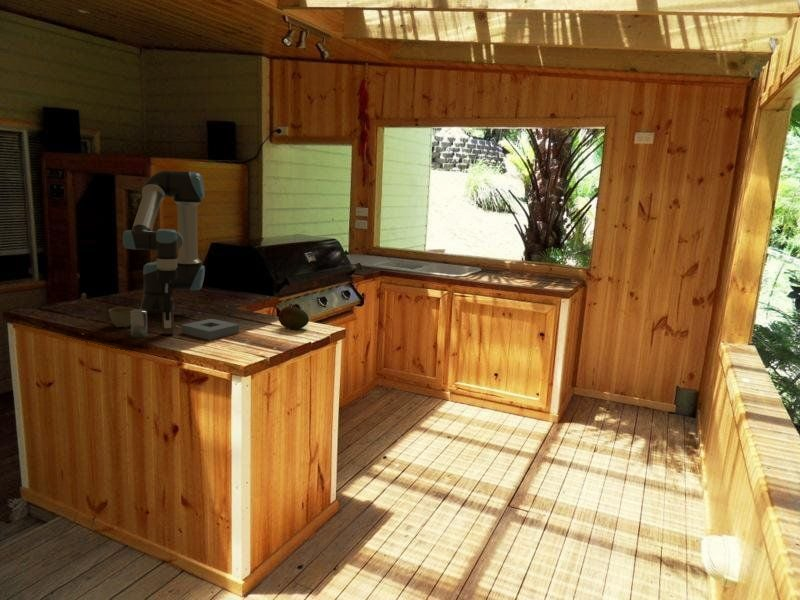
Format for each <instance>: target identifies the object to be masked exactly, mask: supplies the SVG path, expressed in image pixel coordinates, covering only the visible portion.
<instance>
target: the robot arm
mask: <svg viewBox="0 0 800 600" xmlns="http://www.w3.org/2000/svg"><path fill="white" fill-rule="evenodd" d="M203 180H204V179H203V176H202V175H201V173H199V172H194V171H179V170H161V171H158V172H156V173H154V174H153V175H151V176H150V177H149V178H148V179H147V180H146V181H145V182H144V184H143V186H142V190H141V194H142V198H141V200H140V203H139V206H138V210H137V213H136V215H135V218H134V222H133V225H132V228H131V229H126V230H124V231H123V233H122V245H123V247H124V248H125V249H126V250H127V249H129V250H137V251H138V250H141V251H143V250H144V251H145V250H146V251H150V250H151V251H152V250H153V251H156V260H155V261H153V262H152V261H151V262H147V263H145V264H144V265H143V270H142V271H143V273H142V275H143V276H142V279H143V296H142V299H141V303H140V306H139V309H144V310H147V315H162V312H164V328H171V298H173V297H172V295H173V291H174V290H175V291H177V290H179V291H190V292H191V291H199V290H201V289H202V287H203V283H204V279H205V274H206V266H205V265H202V261H201V259H199V256H198V255H199V254H198V253H199V252H198V251H199V247H198V243H199V242H198V239H199V238H198V235H199V234H198V226H199V225H198V207H199V205H200V204H201V203H202V200H203V199H205V184H204V181H203ZM168 197H169V198H173V202H174V204H176V205H177V206H176V207H177V231H176V229H172V228H161V229H160V228H159V229H157V230H156V231H153V229H154V227H155V226H154V225H155V222H156V219H157V216H158V211H159V209H160V206H161V202H163V200H165V198H168ZM162 298H163V302H164V310H163V311H162ZM175 311H176V306H175V304H174V302H173V313H175Z"/></svg>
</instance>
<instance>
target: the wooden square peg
mask: <svg viewBox="0 0 800 600" xmlns="http://www.w3.org/2000/svg"><path fill="white" fill-rule="evenodd" d="M173 303H174V297H172V298H171V328H164V312H162V314H161V316H162V317H161V318H162V319H161V323H162V325H161V327H162V329H161V330H162V335H173V334H174V333H175V331H174V327H175V326H174V325H175V324H174V322H175V321H174V319H175V318H174V316H175V315H174V312H173ZM163 310H164V302H163V298H162V311H163Z"/></svg>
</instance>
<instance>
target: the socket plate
mask: <svg viewBox="0 0 800 600" xmlns="http://www.w3.org/2000/svg"><path fill="white" fill-rule="evenodd" d="M180 326H181V334H183V335H187V336H190V337H196V338H200V339H203V340H209V341H211V340H215V339H219V338H223V337H227V336H231V335H236V334H240V333H239V332H240V324H238V323H233V322H229V321H223V320H221V319H214V318H208V319H203V320H199V321H193V322H189V323H184V324H181V325H180Z"/></svg>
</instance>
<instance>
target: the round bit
mask: <svg viewBox="0 0 800 600" xmlns="http://www.w3.org/2000/svg"><path fill="white" fill-rule="evenodd" d="M134 309H135V310H131V311H130V315H131V324H130V337H132V338H145V337H148V334H149V333H148V314H147V310H144V309H140V308H138V309H136V308H134Z"/></svg>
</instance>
